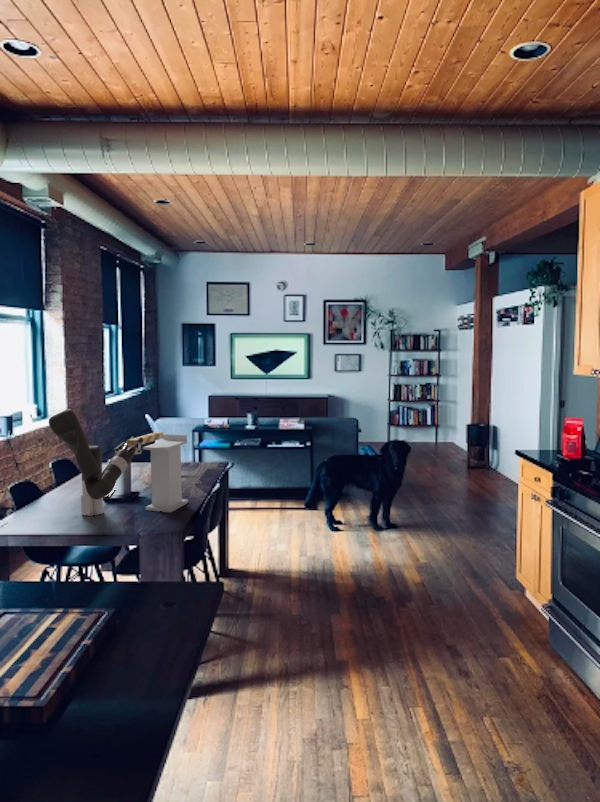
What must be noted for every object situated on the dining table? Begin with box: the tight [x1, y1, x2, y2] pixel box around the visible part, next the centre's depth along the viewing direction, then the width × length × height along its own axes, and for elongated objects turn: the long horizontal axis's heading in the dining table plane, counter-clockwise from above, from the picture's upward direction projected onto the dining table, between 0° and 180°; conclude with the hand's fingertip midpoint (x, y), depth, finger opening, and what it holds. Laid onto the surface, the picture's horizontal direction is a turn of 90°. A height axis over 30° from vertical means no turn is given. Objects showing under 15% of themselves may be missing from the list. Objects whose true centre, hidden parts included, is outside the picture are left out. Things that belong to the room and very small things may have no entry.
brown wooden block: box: [126, 431, 165, 447], centre depth 285 cm, size 26×4×3 cm, turn 163°
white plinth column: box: [142, 433, 189, 513], centre depth 305 cm, size 22×14×35 cm, turn 163°
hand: (137, 438), depth 278 cm, fingers closed on brown wooden block, 3 cm apart
